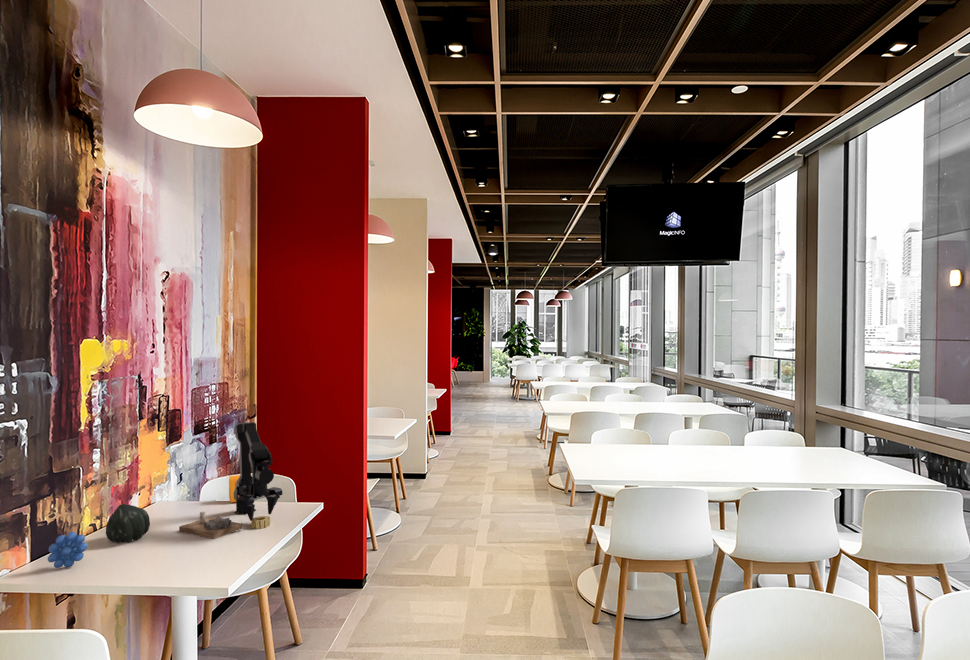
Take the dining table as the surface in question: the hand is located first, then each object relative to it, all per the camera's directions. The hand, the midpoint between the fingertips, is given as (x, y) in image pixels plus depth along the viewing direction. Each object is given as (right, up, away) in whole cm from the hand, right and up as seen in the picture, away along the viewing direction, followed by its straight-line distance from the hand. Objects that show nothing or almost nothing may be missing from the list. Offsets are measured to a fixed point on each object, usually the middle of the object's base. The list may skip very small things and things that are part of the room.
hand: (260, 517), depth 234 cm
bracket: (-27, -5, +41) cm, 49 cm away
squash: (-46, -5, -13) cm, 48 cm away
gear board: (-19, -4, -4) cm, 19 cm away
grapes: (-50, -4, -39) cm, 64 cm away
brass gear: (0, -4, 0) cm, 4 cm away
